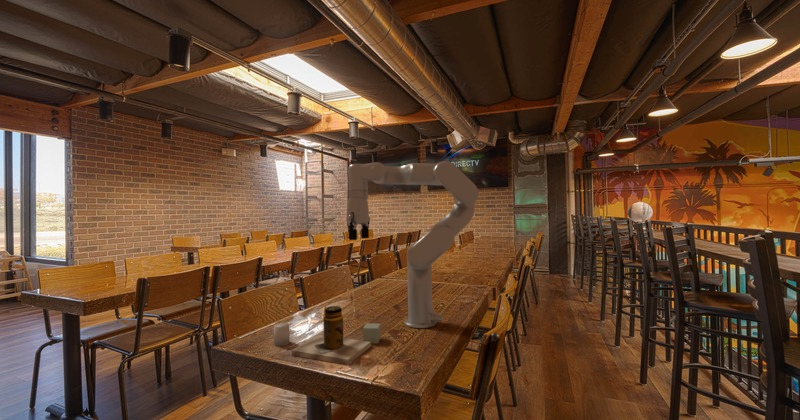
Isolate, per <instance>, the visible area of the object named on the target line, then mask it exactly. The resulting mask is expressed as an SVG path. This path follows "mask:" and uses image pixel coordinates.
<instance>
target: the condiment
mask: <svg viewBox="0 0 800 420" xmlns="http://www.w3.org/2000/svg"><path fill="white" fill-rule="evenodd" d="M342 312H343V309H342V307H341V306H337V305H333V306H327V307H326V308H324V317H323V335H324V343H322V344H316V345H314V346H315V347H316V348H317V349H318V351H320V352H321V353H325V352H330V351H334V350H339V349H343V348H346V347H348V346H346V345H345V344H344V343H343V338H344V317H343V313H342Z"/></svg>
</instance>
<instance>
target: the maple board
mask: <svg viewBox="0 0 800 420" xmlns="http://www.w3.org/2000/svg"><path fill="white" fill-rule="evenodd" d="M322 343H324V334H323V335H322V334H318V335H316V336H314V337H312V338H311V339H309V340H308V341H305V342H304V343H302V344H300V345H299V346H297V347H295V348H293V349H292V350H291V356H294V357H300V358H306V359H311V360H318V361H323V362H328V363H336V364H341V365H350V364H351V363H353V362H354V361H355V360H356V359H358V358H359V357H360V356H361V355H363V353H365V352H366V351H367V350H369V349H370V348H371V344H372V343H371V342H368V341H363V340H361V339H353V338H352V339H351V338H347V337H346V338H345V337H343V343H344V344H345V345H346V346H348V347H346V348H343V349H339V350H334V351H330V352H325V353H321V352H320V351H318V349H317V348H316V347H315V346H314V345H316V344H322Z"/></svg>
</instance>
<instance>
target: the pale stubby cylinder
mask: <svg viewBox="0 0 800 420" xmlns="http://www.w3.org/2000/svg"><path fill="white" fill-rule="evenodd" d="M290 339H291V337H290V323H289V322H280V323H276V324H274V325H273V345H274V346H276V347H282V346H286V345H289V344H290Z"/></svg>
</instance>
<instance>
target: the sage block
mask: <svg viewBox="0 0 800 420" xmlns="http://www.w3.org/2000/svg"><path fill="white" fill-rule="evenodd" d="M381 329H382V328H381V323H370V322H369V323H368V322H367V323H365V325H364V326H363V327H362V336H363V337H362V341H368V342H371V344H379V342H380V340H381V339H382V337H381V335H382V334H381V333H382V332H381Z"/></svg>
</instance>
